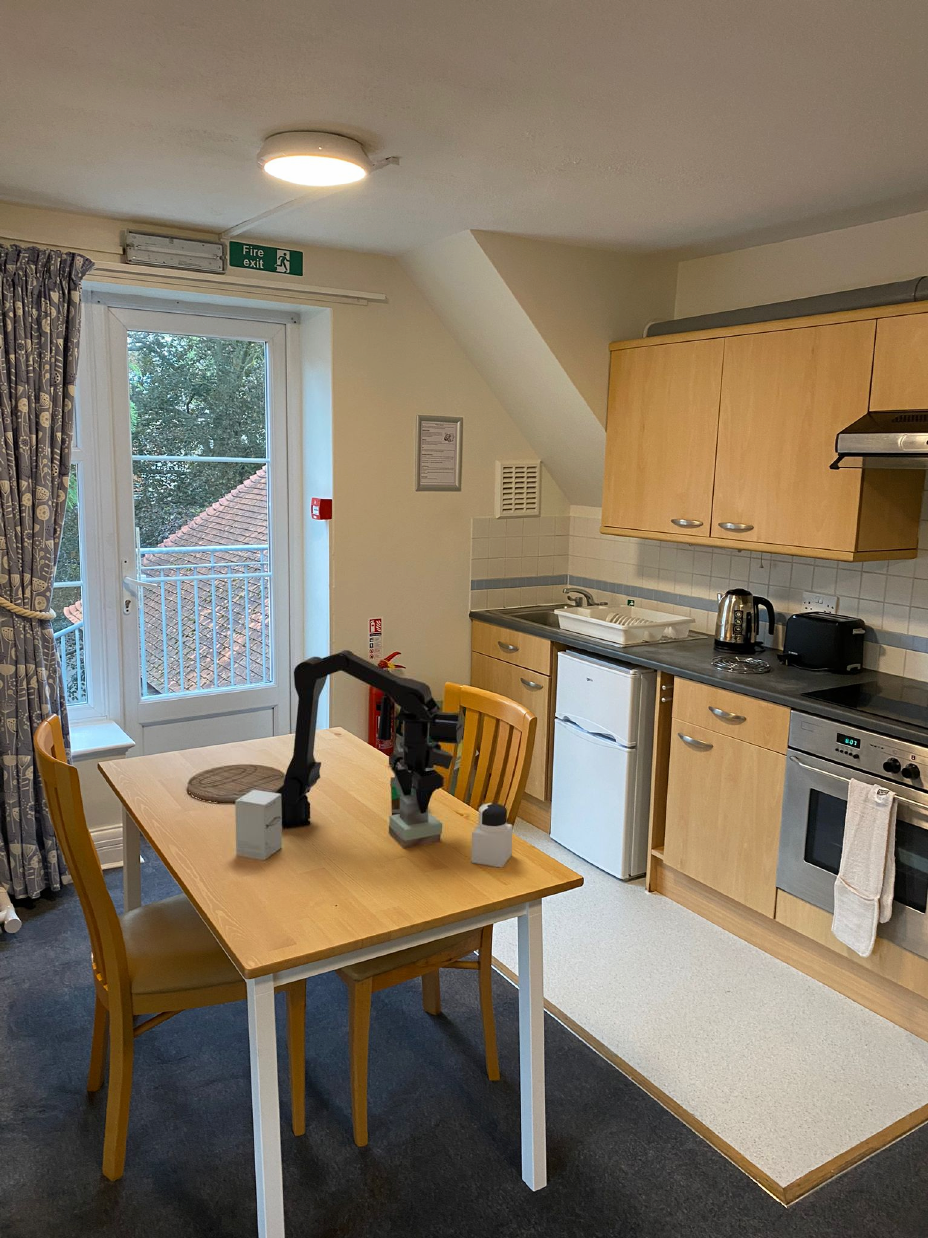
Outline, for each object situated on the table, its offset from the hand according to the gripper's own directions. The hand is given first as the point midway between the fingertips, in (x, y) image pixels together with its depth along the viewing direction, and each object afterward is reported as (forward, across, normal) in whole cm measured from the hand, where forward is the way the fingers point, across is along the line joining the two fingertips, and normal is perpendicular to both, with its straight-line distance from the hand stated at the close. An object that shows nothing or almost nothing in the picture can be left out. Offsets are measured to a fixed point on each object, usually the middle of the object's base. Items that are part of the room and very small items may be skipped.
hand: (415, 806), depth 211 cm
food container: (+8, +16, -5) cm, 18 cm away
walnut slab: (+8, 0, 0) cm, 8 cm away
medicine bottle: (+8, -17, -11) cm, 22 cm away
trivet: (+8, +48, +30) cm, 57 cm away
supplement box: (+8, +6, +34) cm, 35 cm away
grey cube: (+3, 0, 0) cm, 3 cm away
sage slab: (+6, 0, 0) cm, 6 cm away
